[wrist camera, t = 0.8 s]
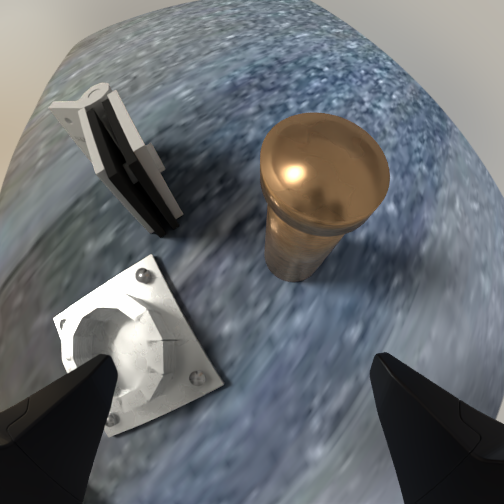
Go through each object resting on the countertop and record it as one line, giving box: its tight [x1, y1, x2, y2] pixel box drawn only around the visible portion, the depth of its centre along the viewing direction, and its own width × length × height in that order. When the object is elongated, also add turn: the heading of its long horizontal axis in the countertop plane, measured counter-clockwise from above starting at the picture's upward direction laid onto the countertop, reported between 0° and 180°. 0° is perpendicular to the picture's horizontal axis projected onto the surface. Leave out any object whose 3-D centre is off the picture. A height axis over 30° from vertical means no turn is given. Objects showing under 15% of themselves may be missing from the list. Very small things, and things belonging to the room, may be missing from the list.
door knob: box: [260, 113, 390, 282], centre depth 17 cm, size 5×5×13 cm
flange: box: [54, 254, 225, 437], centre depth 19 cm, size 12×12×4 cm
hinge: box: [49, 83, 183, 238], centre depth 21 cm, size 14×5×10 cm, turn 45°
